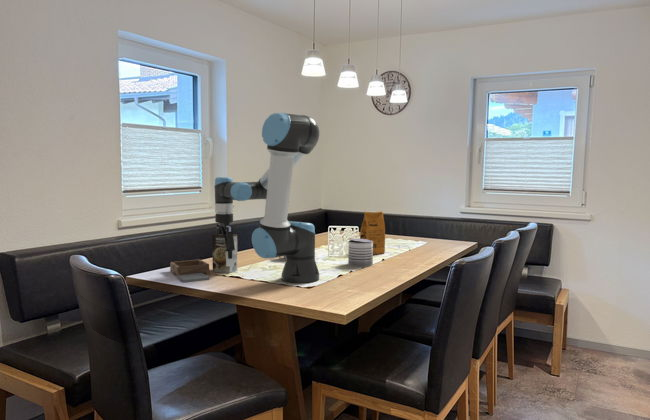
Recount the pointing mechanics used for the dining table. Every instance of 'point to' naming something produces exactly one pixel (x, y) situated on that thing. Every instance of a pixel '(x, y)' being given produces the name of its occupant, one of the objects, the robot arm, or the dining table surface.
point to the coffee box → (222, 254)
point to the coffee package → (374, 231)
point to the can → (360, 252)
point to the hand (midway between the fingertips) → (224, 263)
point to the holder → (189, 267)
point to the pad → (193, 277)
